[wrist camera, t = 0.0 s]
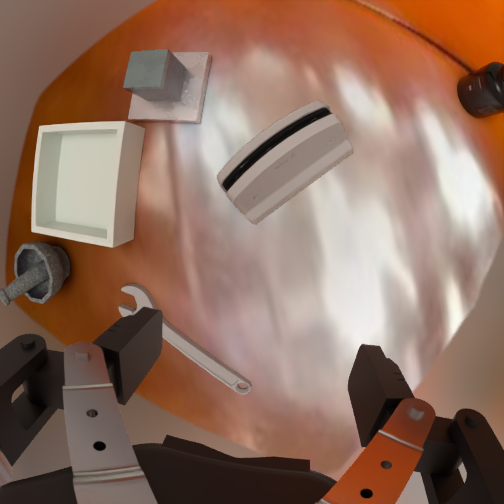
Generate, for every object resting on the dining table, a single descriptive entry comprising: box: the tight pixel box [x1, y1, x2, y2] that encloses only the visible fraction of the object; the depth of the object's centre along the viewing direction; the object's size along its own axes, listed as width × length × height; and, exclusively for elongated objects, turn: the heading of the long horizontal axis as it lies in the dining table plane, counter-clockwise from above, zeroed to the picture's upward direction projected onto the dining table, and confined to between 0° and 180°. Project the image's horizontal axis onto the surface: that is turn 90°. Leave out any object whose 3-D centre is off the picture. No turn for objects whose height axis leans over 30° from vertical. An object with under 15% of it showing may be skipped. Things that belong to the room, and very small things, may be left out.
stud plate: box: [128, 52, 212, 124], centre depth 34 cm, size 10×10×7 cm
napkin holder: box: [217, 101, 353, 225], centre depth 34 cm, size 17×5×10 cm, turn 128°
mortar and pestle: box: [0, 242, 70, 306], centre depth 39 cm, size 11×9×12 cm
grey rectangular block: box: [123, 49, 186, 101], centre depth 32 cm, size 5×5×7 cm
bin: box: [32, 121, 145, 248], centre depth 38 cm, size 16×16×6 cm
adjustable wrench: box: [119, 284, 251, 394], centre depth 45 cm, size 25×6×2 cm, turn 47°
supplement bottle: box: [458, 62, 504, 118], centre depth 26 cm, size 7×7×12 cm
